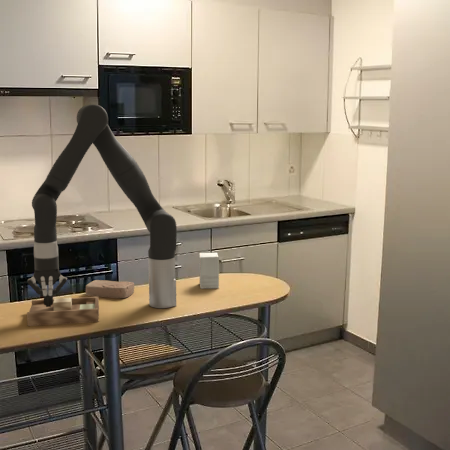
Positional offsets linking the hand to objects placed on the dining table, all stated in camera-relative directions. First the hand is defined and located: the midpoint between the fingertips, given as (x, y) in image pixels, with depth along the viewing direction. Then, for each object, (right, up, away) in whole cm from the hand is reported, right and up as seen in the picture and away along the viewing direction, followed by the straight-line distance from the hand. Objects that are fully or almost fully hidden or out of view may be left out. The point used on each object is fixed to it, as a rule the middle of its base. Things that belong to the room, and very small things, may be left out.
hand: (48, 306), depth 201 cm
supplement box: (+52, +3, +38) cm, 64 cm away
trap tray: (+5, -4, +2) cm, 6 cm away
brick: (+15, 0, +27) cm, 31 cm away
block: (+5, -1, +1) cm, 5 cm away
